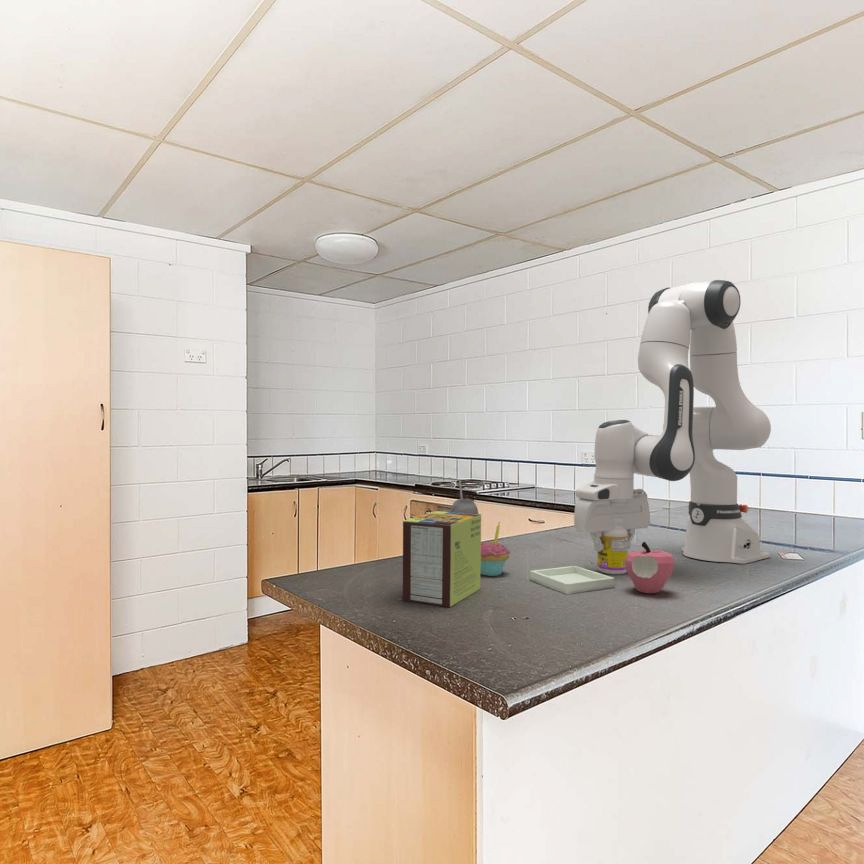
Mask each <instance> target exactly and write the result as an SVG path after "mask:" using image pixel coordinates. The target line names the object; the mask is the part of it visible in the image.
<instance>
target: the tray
mask: <svg viewBox="0 0 864 864" xmlns="http://www.w3.org/2000/svg"><path fill="white" fill-rule="evenodd" d="M615 579H616V578H615V577H613V576H610V575H606V574H604V573H601V572H596V571H594V570H589V569H587V568H585V567H581V566H578V565H569V566H561V567H560V566H559V567H554V568H553V567H552V568H542V569H534V570H529V581H530V582H534V583H535V584H539V585H541V586H543V587H547V588H550V589H553V590H554V591H557V592H559V593H562V594H565V595H572V594H578V593H579V594H580V593H585V592H593V591H600V590H606V589H607V590H608V589H614V588H615V587H616V586H615V583H616V581H615Z"/></svg>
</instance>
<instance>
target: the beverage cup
mask: <svg viewBox="0 0 864 864" xmlns="http://www.w3.org/2000/svg"><path fill="white" fill-rule="evenodd" d="M458 485H459V494H460V496H459V498H458V499H457V500H455V501H454V502H453V503H452V505H451V507H450V510H449V512H455V513H469V514H479V510H478V507H477V504H476V503H475V502H474V500H472V499H470V498H467V497H463V489H462V480H461V479H459V480H458Z"/></svg>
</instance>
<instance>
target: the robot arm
mask: <svg viewBox="0 0 864 864" xmlns="http://www.w3.org/2000/svg"><path fill="white" fill-rule="evenodd" d="M740 308H741V295H740V291H739V289H738V287H736V286H735V284H734V283H733V282H732V281H729V280H723V279H714V280H712V281H695V282H690V283H686V284H682V285H681V284H680V285H677V286H673V287H665V288H662V289H660V290H657V291H656V292H655V293H654V294H653V295H652V297H651V298H650V299H649V303H648V307H647V317H646V320H645V323H644V327H643V330H642V335H641V338H640V343H639V348H638V355H637V364H638V370H639V372H640V373H641V375H642V377H644V378H645V380H647V381H648V382H649V383H651V384H653V385H655V386H657V387H658V388H659V389H660V390H661V391H662V394H663V397H664V412H663V413H664V417H663V424H662V425H663V426H662V432H661V434H660V435H654V434H649V433H647V432H645V431H643V430H640V429H639V428H638V427H637V426H635V425H634V424H633V423H632V421H630V420H627V419H618V420H609V421H606V422H603V423H601V424H599V426H598V427H597V430H596V434H595V439H594V463H595V472H594V475H593V479H594V480H593V481H591V482H589V483H587V484H585V485H583V486H580V487H578V488H577V489H576V492H575V497H577V498H578V499H577V500H576V502H575V506H574V513H573V514H574V517H573V520H574V521H573V524H574V528H575V530H576V532H579V533H583V534H589V535H590V538H591V540H592V542H593V543H594V545H593V546H594V547H593V549H594V551H595V552H597V553H598V552H600V551H604V547H605V544H604V543H601V540H600V538H599V537H601V532H606V531H610V530H612V529H614V528H615V524H614V518H622V517H623V521H624V522H623V524H622V527H623V528H625V529H626V530H627V532H628V543H627V550H629V549H631V547H632V541H633V539H634V537H635V535H636V530H639V529H647V528H648V527H649V526H650V523H651V514H650V506H649V501H648V493H647V492H646V491H644V490H643V489H642V488H637V489H636V488H635V489H634V486H635V485H634V482H635V481H634V480H635V478H634V474H636V475H641V476H647V477H653V478H659V479H662V480H666V481H669V482H677V481H681V480H683V479H684V478H686V477H687V476H688V475H689V481H690V483H689V484H690V501H688V506H687V507H688V508H687V509H688V515H689V519H688V521H687V524H686V531H685V540H684V546H683V545H682V547H681V551H683V553H682V554H683V555H684V556H685V557H687V558H690V559H691V558H692V559H696V560H701V561H709V562H716V563H719V562H720V563H733V564H743V565H744V564H749V563H753V562H756V561H759V560H764V559H768V558H771V554H770V552H768V551H764V550H761V543H760V536H759V534H758V532H757V531H756V530H755V529H753V527H751V526H750V525H749V524H748V523H747V522H746V521H745V520H744V519H743V518H742V517H743V516H742V513H746V514H747V513H748V511H749V510H750V509H749V506H748V505H747V504H741V503H740V504H739V503H738V476H737V474H736V472H735V470H733V468H731V467H730V466H728V465H727V464H725V463H723V462H722V461H721V462H720V461H719V460H717V459H716V457H715V455H714V450H726V451H727V450H731V451H734V450H735V451H745V450H752V449H756V448H757V449H758V448H761V447H763V446H764V445H765V444H766V442H767V441H768V440H769V438H770V436H771V431H772V430H771V429H772V428H771V427H772V426H771V421H770V418H768V415H767V414H766V413H765V412H764V411H763V410H762V409H760V408H759V407H757V406H756V405H755V404H754V403H752V402H751V401H750V399H749V398H748V397H747V396H746V394H745V393H744V391H743V389H742V387H741V383H740V377H739V368H738V355H737V354H738V353H737V352H738V346H737V345H738V344H737V336H736V330H735V326H734V320H735V319H736V317H737V316H738V314H739V311H740ZM694 390H697V391H698V392H700V393H702V394H705V395H706V396H709V397H710V398H711V399H712V400H713V402H714V404H715V406H713V407H712V406H711V407H710V406H708V407H707V406H706V407H705V406H702V407H700V406H699V407H698V406H697V407H696V406H695V407H694V395H695V392H694Z"/></svg>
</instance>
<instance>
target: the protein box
mask: <svg viewBox="0 0 864 864" xmlns="http://www.w3.org/2000/svg"><path fill="white" fill-rule="evenodd" d="M481 543H482V514H481V513H480V514H479V513H478V514H469V513H455V512H450V511H443V510H442V511H440V510H435V511H432V512H429V513H426V514H421V515H418V516H415V517H411V518H408V519H404V520H403V521H402V601H406V602H411V603H412V602H413V603H420V604H427V605H433V606H440V607H447V608H451V607H453V606H454V605H456V604H458V603H460V602H461V601H463V600H465V599H466V598H468V597H469V596H471V595H473V594H474V593H476V592H477V591H479V590H481V573H480V570H481Z"/></svg>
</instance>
